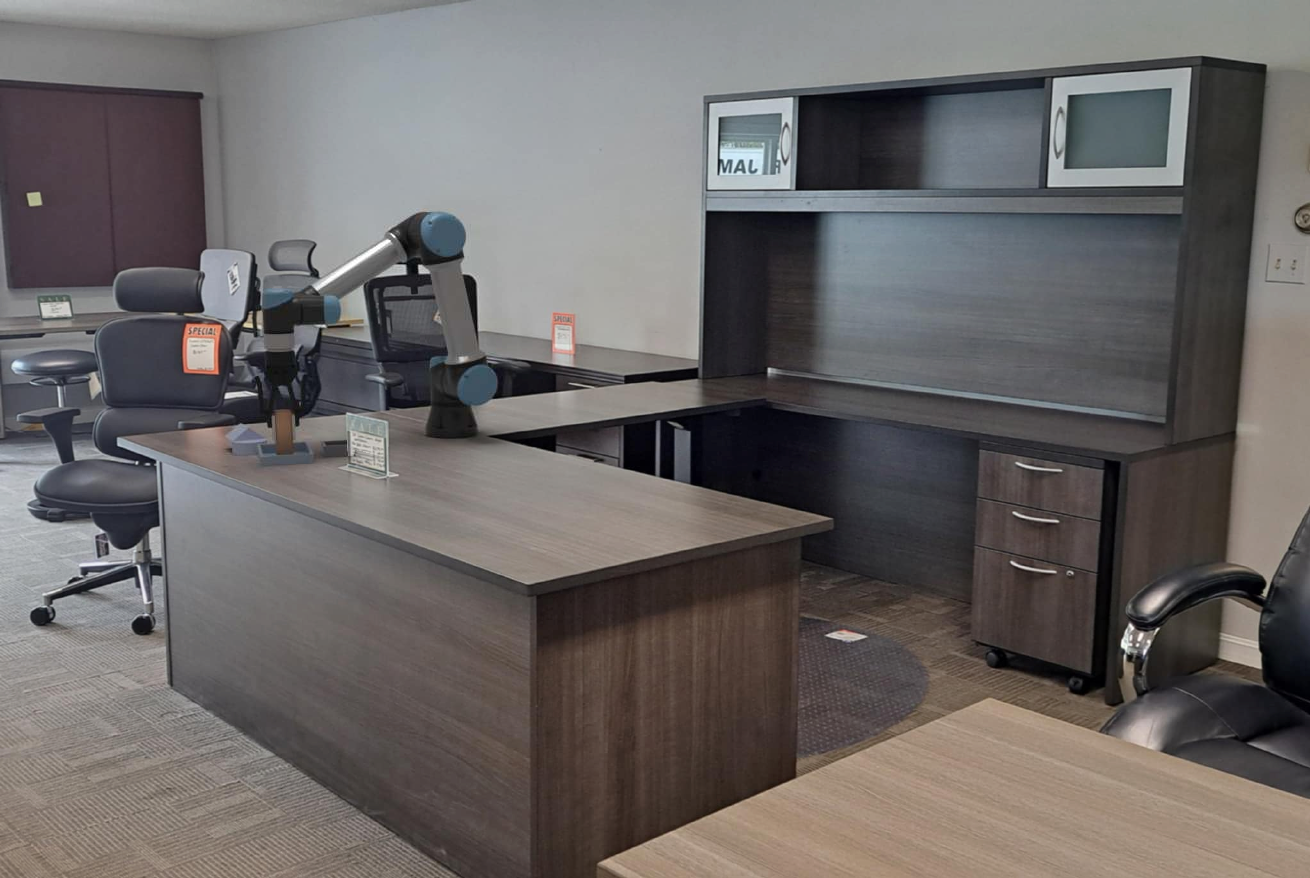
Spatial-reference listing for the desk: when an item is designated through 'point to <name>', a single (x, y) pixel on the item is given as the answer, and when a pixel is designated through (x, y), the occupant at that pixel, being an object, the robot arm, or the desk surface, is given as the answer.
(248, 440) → the wedge on round base
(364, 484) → the desk surface
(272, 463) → the tray
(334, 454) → the grey square open box
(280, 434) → the dowel
